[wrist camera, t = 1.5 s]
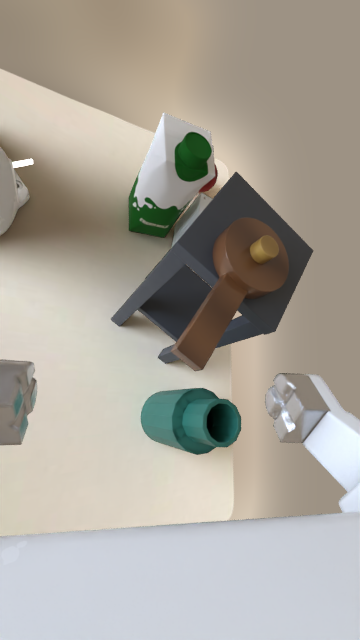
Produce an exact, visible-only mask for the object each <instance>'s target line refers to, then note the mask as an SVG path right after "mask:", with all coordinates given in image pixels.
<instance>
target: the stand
mask: <svg viewBox="0 0 360 640" xmlns="http://www.w3.org/2000/svg"><path fill="white" fill-rule="evenodd" d="M241 218H254V219H257V220H259V221H261V222H263V223H265V224H266V225H268V226H269V227H270V228H271V229H272V230H273V231H274V232H275V233H276V234H277V235H278V237H279V238H280V240H281V241H282V243H283V245H284V247H285V250H286V252H287V256H288V261H289V271H288V276H287V279H286V281H285V282H284V284H283V285H282V286H281V287H280V288H279V289H277V290H275V291H273V292H271V293H268V294H266V295H264V296H262V297H260V298H256V299H248V298H244V299H243V301H242V303H241V304H240V306H239V308H238V310H237V311H239V312H240V313H241V314H242V316H240V317H237V318H235V319H233V320H231V322H230V323H229V325H228V327H227V329H226V330H225V332H224V334H223V335H222V337H221V339H220V341H219V342H218V344H217V346H216V348H218V347H221V346H225V345H228V344H231V343H234V342H237V341H241V340H244V339H248V338H250V337H254V336H257V335H261V334H269V333H272V332H275V331H276V329H277V327H278V324H279V322H280V320H281V318H282V316H283V314H284V312H285V309H286V308H287V305H288V303H289V301H290V299H291V297H292V294H293V293H294V291H295V288H296V286H297V284H298V282H299V280H300V278H301V276H302V274H303V272H304V269H305V267H306V265H307V263H308V261H309V259H310V257H311V255H312V252H313V250H312V249H311V248H310V247H309V246H308V245H307V244H306V243H305V242H304V241H303V240H302V239H301V237H300V236H299V235H298V234H297V233H296V232H295V231H294V230H293V229H292V228H291V227H290V226H289V225H288V224H287V223H286V222H285V221H284V220H283V219H282V218H281V217H280V216H279V215H278V214H277V213H276V212H275V211H274V210H273V209H272V208H271V207H270V206H269V205H268V204H267V202H266V201H264V199H263V198H261V197H260V195H259V194H258V193H257V192H256V191H255V190H254V189H253V188H252V187H251V186H250V185H249V184H248V183H247V182H246V181H245V180H244V179H243V178H242V177H241V176H240V175H239V174H238V173H237V172H235V173H234V175H233V176H232V177H231V178H230V179H229V180H228V182H227V183H226V184H225V185H224V186H223V187H222V189H221V190H220V191H219V192H218V193H217V195H216V196H215V197H214V198H213V199H212V201H211V202H210V203H209V204H208V205H207V206H206V208H205V209H204V210H203V211H202V212H201V214H200V215H199V216H198V217H197V218H196V220H195V221H194V222H193V223H192V224H191V225H190V227H189V228H188V229H187V230H186V231H185V233H184V234H183V235H182V236H181V237H180V239H179V240H178V241H177V242H176V243H175V244H174V246H173V247H172V248H171V249H170V250H169V251H168V252H167V254H166V255H165V256H164V257H163V258H162V259H161V261H160V262H159V263H158V264H157V265H156V266H155V268H154V269H153V270H152V271H151V272H150V273H149V275H148V276H147V277H146V278H145V280H144V281H143V283H142V284H141V285H140V286H139V287H138V288H137V289H136V291H135V292H134V293H133V294H132V295H131V296H130V297H129V299H128V300H127V301H126V302H125V303H124V304H123V306H122V307H121V308H120V309H119V310H118V311H117V312H116V314H115V315H114V316H113V317H112V318H111V320H112V321H113V322H114V323H116V324H117V325H118V326H120V325H121V324H122V323H123V322H125V321H126V320H127V319H128V318H129V317H130V316H131V315H132V314H133V313H134V312H135V311H136V310H139V311H140V312H141V313H142V314H143V315H145V316H146V317H147V318H148V319H149V320H151V321H152V322H153V323H154V324H156V325H157V326H158V327H159V328H160V329H162V330H163V331H164V332H165V333H166V334H168V335H169V336H170V337H171V338H172V339H174V340H175V341H176V342H177V341H178V339H179V338H180V336H181V335H182V333H183V332H184V330H185V329H186V327H187V326H188V324H189V323H190V321H191V320H192V318H193V317H194V315H195V314H196V312H197V311H198V309H199V308H200V306H201V305H202V303H203V302H204V300H205V299H206V297H207V296H208V294H209V293H210V291H211V290H212V288H213V287H214V285H215V284H216V282H217V281H218V279H219V278H220V277H219V276H218V274H217V272H216V269H215V266H214V263H213V246H214V243H215V240H216V239H217V237H218V236H219V235H220V234H221V233H222V232H223V231H224V230H225V229H226V228H227V227H228V226H230V225H231V224H232V223H233V222H234V221H236V220H238V219H241ZM187 265H188V266H189V267H190V268H191V269H192V270H193V271H194V272H195V273H194V272H193V271H192V270H191V269H190V268H189V267H188V266H187ZM197 274H198V275H199V276H200V277H201V278H202V279H203V280H204V281H205V282H204V281H203V280H202V279H201V278H200V277H199V276H198V275H197ZM208 284H209V285H210V286H211V287H212V288H211V287H210V286H209V285H208ZM174 345H175V344H174ZM174 345H172V346H170V347H167V348H165V349H163V350H162V352H161V353H160V355H159V356H158V358H159V359H160V360H162V361H163V362H164V363H165V364H166V363H169V362H173V361H176V360H179V358H178V357H177V356H176V355H175V354H173V353H172V352H171V350H172V348H173V347H174Z"/></svg>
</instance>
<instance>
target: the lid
mask: <svg viewBox="0 0 360 640" xmlns="http://www.w3.org/2000/svg"><path fill="white" fill-rule="evenodd" d="M213 263H214V266H215V269H216V272H217V274H218V276H219V277H220V278H219V279H218V281H217V282H216V284H215V285H214V287H213V288H212V290H211V291H210V293H209V294H208V296H207V297H206V299H205V300H204V302H203V303H202V305H201V306H200V308H199V309H198V311H197V312H196V314H195V315H194V317H193V318H192V320H191V321H190V323H189V324H188V326H187V327H186V329H185V330H184V332H183V333H182V335H181V336H180V338H179V339H178V341H177V342H176V344H175V345H174V347H173V348H172V350H171V352H172V353H173V354H175V355H176V356H177V357H178V358H179V359H181V360H182V361H183V362H184V363H186V364H187V365H188V366H189V367H191V368H192V369H193V370H194V371H199V370H203V368H204V367H205V365H206V363H207V361H208V360H209V358H210V356H211V354H212V353H213V351H214V349H215V348H216V346H217V344H218V342H219V341H220V339H221V337H222V335H223V334H224V332H225V330H226V329H227V327H228V325H229V323H230V322H231V320H232V318H233V316H234V315H235V313H236V311H237V310H238V308H239V306H240V304H241V303H242V301H243V299H244V298H248V299H256V298H260V297H262V296H264V295H266V294H268V293H271V292H273V291H275V290H277V289H279V288H280V287H281V286H282V285H283V284H284V282H285V281H286V279H287V276H288V271H289V261H288V256H287V252H286V250H285V247H284V245H283V243H282V241H281V240H280V238H279V237H278V235H277V234H276V233H275V232H274V231H273V230H272V229H271V228H270V227H269V226H268V225H266V224H265V223H263V222H261V221H259V220H257V219H254V218H241V219H238V220H236V221H234V222H233V223H232V224H231V225H230V226H228V227H227V228H226V229H225V230H224V231H223V232H222V233H221V234H220V235H219V236H218V237H217V239H216V240H215V243H214V246H213Z"/></svg>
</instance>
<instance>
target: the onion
mask: <svg viewBox="0 0 360 640" xmlns="http://www.w3.org/2000/svg"><path fill="white" fill-rule="evenodd" d="M214 165H215V163H214ZM217 174H218V173H217V168H216V165H215V177H214V178H213V179H211V180H210V181H209V182H208V183H207V184H205V185H204V186H203V187H202V188H201V189H200V190H199V192H205V191H208V190H209V189H211V188H212V187H213V186H214V185H215V183H216V180H217Z"/></svg>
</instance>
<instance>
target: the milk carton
mask: <svg viewBox="0 0 360 640" xmlns="http://www.w3.org/2000/svg"><path fill="white" fill-rule="evenodd" d="M213 152H214V148H213V145H212V139H211V132H210V131H208V130H206V129H203V128H201V127H198V126H195V125H193V124H191V123H188V122H186V121H183V120H181V119H178V118H176V117H173V116H171V115H168V114H166V113H163V115H162V118H161V120H160V123H159V126H158V128H157V131H156V134H155V136H154V139H153V141H152V144H151V146H150V149H149V151H148V153H147V155H146V158H145V160H144V162H143V164H142V167H141V169H140V171H139V174H138V176H137V178H136V180H135V183H134V185H133V187H132V190H131V193H130V196H129V231H134V232H139V233H143V234H148V235H153V236H158V237H163V238H164V237H165V236H166V234H167V233H168V232H169V230H170V229H171V227H172V226H173V225H174V223H175V222H176V220H177V219H178V218H179V216H180V215H181V214H182V212H183V211H184V210H185V208H186V207H187V206H188V204H189V203H190V202H191V200H192V199H193V198H194V197H195V195H196V194H197V193H198V191H199V190H200V189H201V188H202V187H203V186H204V185H205V184H207V183H208V182H209V181H210V180H211V179H213V178H214V177H215V165H214V153H213Z"/></svg>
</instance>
